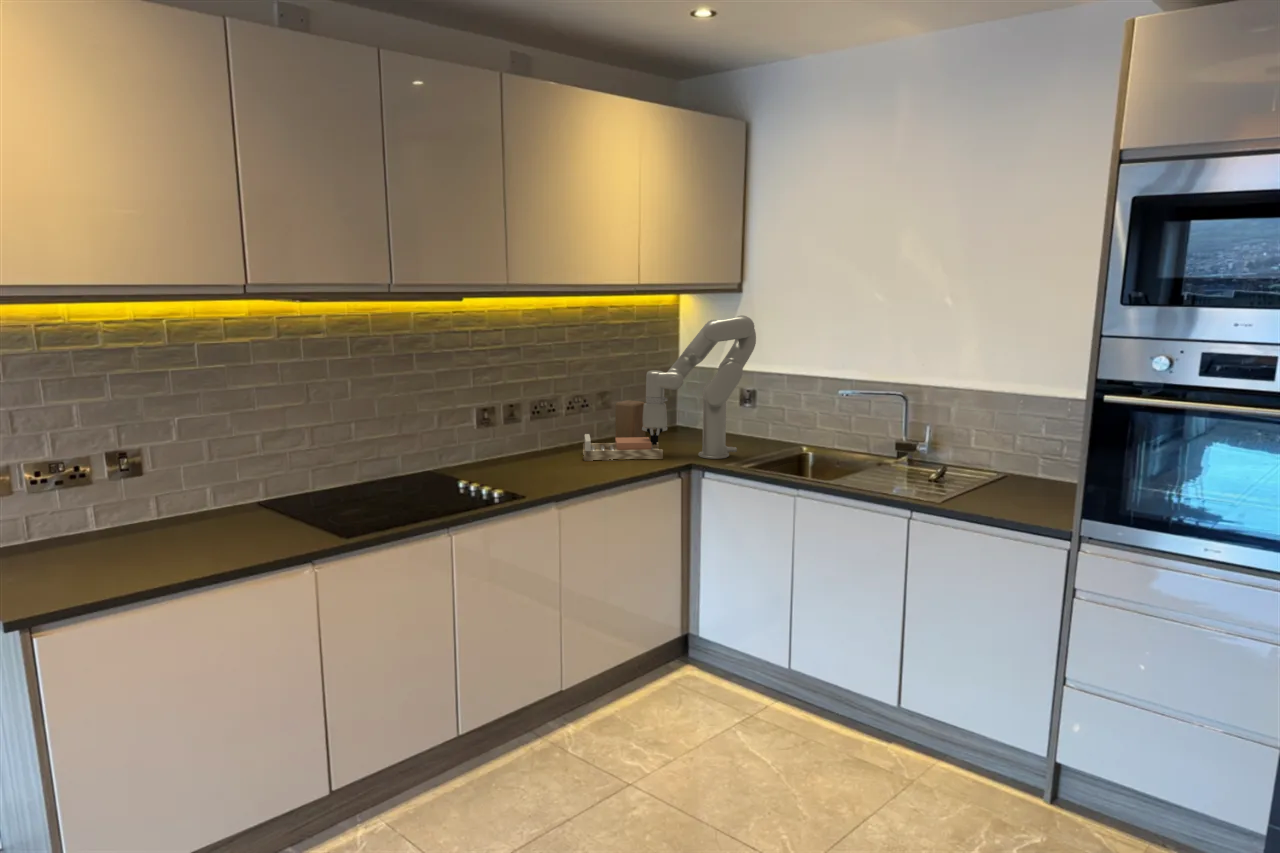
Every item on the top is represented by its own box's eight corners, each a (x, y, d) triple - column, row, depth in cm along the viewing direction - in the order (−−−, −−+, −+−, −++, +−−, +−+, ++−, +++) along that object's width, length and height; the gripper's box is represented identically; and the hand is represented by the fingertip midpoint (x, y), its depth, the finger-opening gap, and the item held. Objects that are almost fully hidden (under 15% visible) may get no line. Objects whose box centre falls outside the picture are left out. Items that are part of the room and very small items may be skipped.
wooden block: (646, 446, 363) (646, 401, 359) (633, 450, 354) (634, 404, 351) (627, 443, 368) (627, 399, 365) (614, 447, 360) (614, 402, 356)
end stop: (589, 449, 349) (589, 434, 347) (590, 457, 333) (590, 441, 332) (584, 449, 348) (584, 434, 347) (585, 457, 333) (585, 441, 332)
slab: (648, 444, 348) (648, 437, 348) (651, 449, 337) (651, 442, 336) (615, 444, 347) (615, 437, 347) (617, 450, 335) (617, 443, 335)
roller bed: (658, 451, 351) (658, 442, 351) (662, 459, 336) (662, 449, 335) (583, 452, 349) (583, 443, 348) (584, 460, 333) (584, 451, 332)
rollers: (651, 448, 350) (651, 444, 349) (655, 455, 336) (655, 450, 336) (590, 449, 347) (590, 445, 347) (591, 456, 334) (591, 451, 334)
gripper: (671, 399, 344) (670, 442, 347) (636, 399, 342) (635, 442, 346) (674, 402, 336) (673, 446, 340) (637, 402, 335) (637, 446, 338)
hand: (654, 444), depth 343 cm, fingers closed
